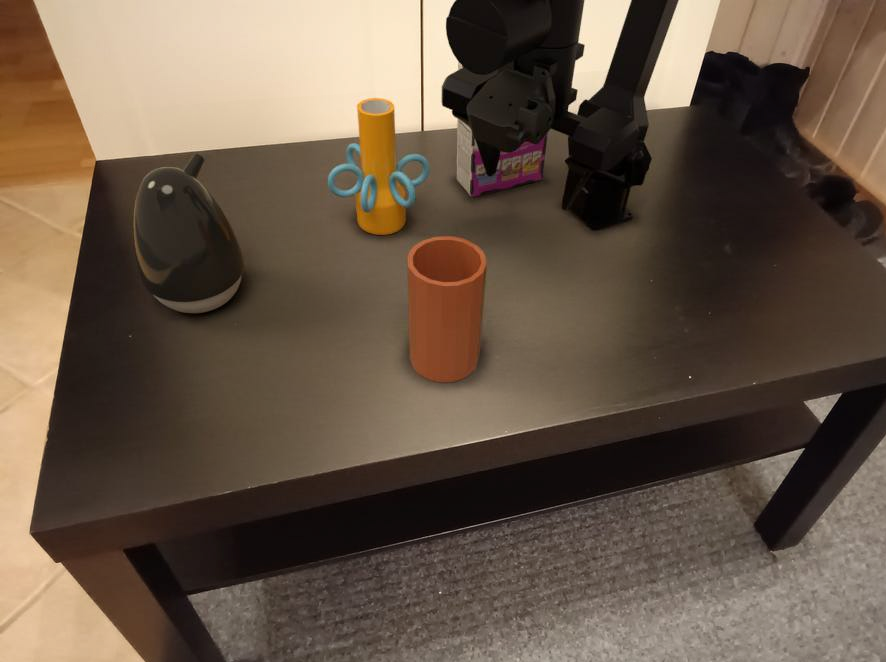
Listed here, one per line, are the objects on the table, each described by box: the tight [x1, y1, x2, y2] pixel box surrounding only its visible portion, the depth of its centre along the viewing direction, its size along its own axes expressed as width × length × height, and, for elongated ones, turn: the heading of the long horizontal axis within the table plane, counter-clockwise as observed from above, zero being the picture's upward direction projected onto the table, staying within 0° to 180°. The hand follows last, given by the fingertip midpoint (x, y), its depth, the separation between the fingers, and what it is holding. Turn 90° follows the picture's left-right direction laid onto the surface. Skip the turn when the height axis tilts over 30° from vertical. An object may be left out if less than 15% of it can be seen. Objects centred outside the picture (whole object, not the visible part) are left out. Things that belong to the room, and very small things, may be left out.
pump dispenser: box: [132, 153, 245, 314], centre depth 70 cm, size 10×10×15 cm
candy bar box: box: [456, 62, 549, 198], centre depth 89 cm, size 11×5×16 cm, turn 117°
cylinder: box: [327, 97, 431, 236], centre depth 81 cm, size 12×10×15 cm
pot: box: [406, 235, 488, 383], centre depth 67 cm, size 7×7×12 cm
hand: (527, 191), depth 71 cm, fingers open, 9 cm apart
